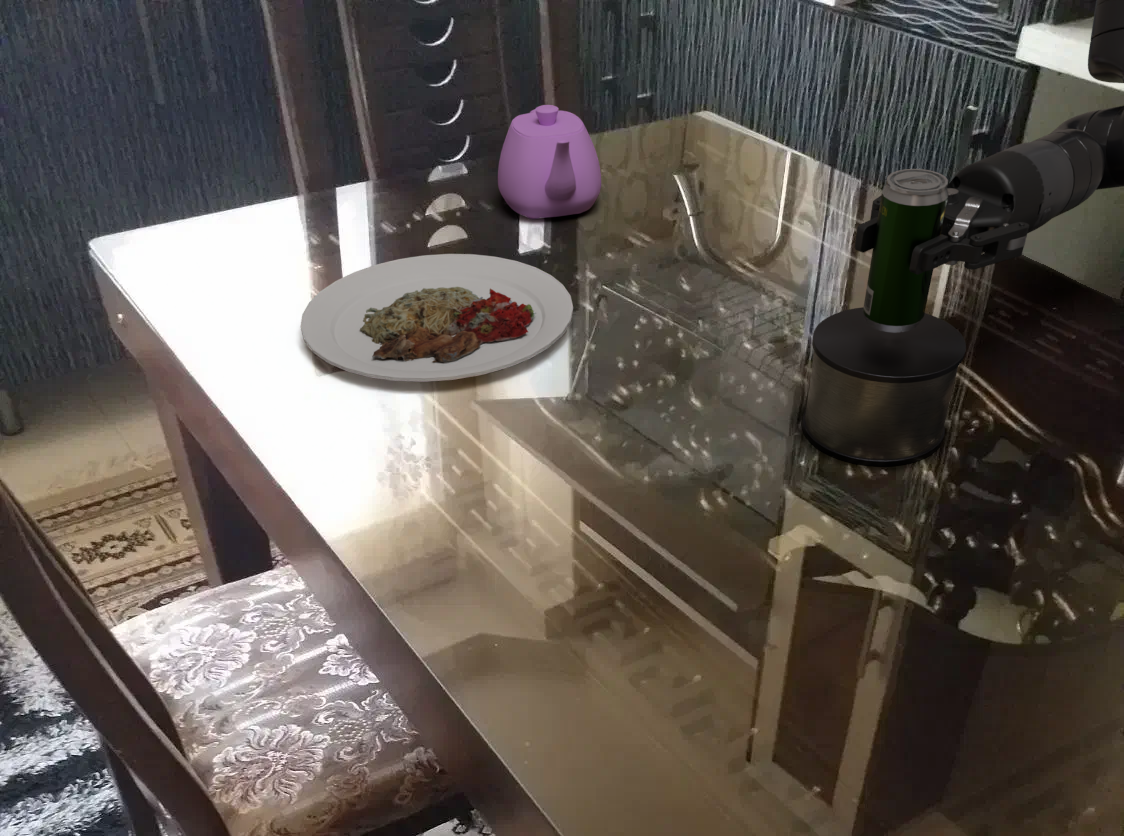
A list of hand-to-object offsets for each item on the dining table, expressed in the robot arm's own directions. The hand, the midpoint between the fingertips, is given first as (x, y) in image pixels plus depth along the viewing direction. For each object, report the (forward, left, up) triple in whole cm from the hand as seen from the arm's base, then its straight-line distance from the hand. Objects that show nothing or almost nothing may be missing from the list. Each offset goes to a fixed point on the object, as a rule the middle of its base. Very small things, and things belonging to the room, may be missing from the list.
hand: (887, 250), depth 97 cm
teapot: (+30, -58, -18) cm, 67 cm away
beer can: (-2, -2, -7) cm, 8 cm away
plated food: (+42, -25, -18) cm, 52 cm away
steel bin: (-2, -2, -18) cm, 18 cm away
